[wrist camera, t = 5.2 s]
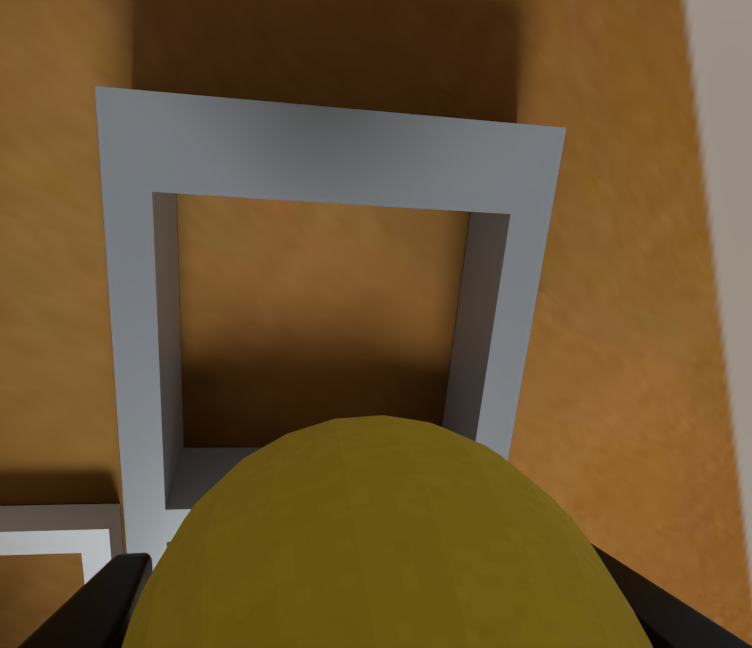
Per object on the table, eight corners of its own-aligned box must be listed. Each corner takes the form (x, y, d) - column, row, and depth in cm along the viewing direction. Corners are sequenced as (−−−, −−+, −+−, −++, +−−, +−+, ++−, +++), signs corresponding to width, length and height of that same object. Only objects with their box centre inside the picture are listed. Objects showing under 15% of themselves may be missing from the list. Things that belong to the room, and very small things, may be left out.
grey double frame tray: (431, 694, 23) (452, 774, 20) (162, 714, 21) (144, 806, 18) (517, 125, 16) (566, 127, 13) (131, 91, 14) (94, 85, 12)
